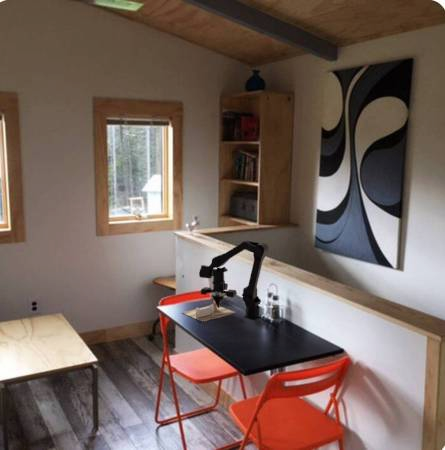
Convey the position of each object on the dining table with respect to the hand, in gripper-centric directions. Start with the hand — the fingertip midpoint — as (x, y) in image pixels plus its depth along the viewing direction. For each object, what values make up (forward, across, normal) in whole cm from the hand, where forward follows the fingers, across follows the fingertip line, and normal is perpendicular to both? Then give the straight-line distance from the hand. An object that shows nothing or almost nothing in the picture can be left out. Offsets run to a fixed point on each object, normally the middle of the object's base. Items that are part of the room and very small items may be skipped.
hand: (218, 307), depth 282 cm
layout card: (+2, +3, +6) cm, 7 cm away
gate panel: (+1, +2, +1) cm, 3 cm away
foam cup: (+1, +11, -24) cm, 26 cm away
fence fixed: (+2, +3, +12) cm, 12 cm away
